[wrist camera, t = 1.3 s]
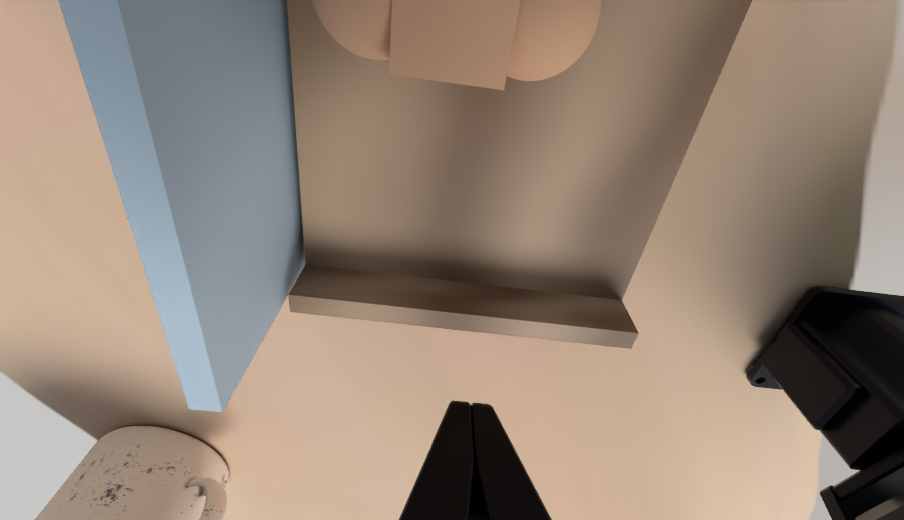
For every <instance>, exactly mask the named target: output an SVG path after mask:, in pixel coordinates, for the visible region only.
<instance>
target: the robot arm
mask: <svg viewBox="0 0 904 520" xmlns="http://www.w3.org/2000/svg"><path fill="white" fill-rule="evenodd" d="M747 379H748V381H749V382H750V383H751V385H752V386H755V387H763V388H773V389H782V390H783V391H784V392H785V393H786V394H787V396H788V397H789V398H790V399H791V401H792V402H793V403H794V404H795V406H796V407H797V408H798V410H799V411H800V412H801V413H802V415H803V416H804V417H805V418H806V420H807V421H808V422H809V423H810V425H811V426H812V427H813V428H814V429H816V430H820V431H821V433H822V434H823V435H824V436H825V438H826V439H827V440H828V441H829V443H830V444H831V445H832V446H833V447H834V449H835V450H836V451H837V452H838V454H839V455H840V456H841V457H842V459H843V460H844V461H845V462H846V464H847V465H848V466H849V467H850V468H851V469H855V470H860V471H859V472H857V473H855V474H854V475H852V476H850V477H849V478H847V479H845V480H844V481H842V482H840V483H839V484H837V485H835V486H829V487H827V488H825V489H824V490H822V491H820V495H821V497H822V499H823V501H824V503H825V505H826V508H827V510H828V512H829V514H830V516H831V518H832V520H904V296H898V295H888V294H880V293H872V292H864V291H856V290H847V289H839V288H830V287H822V286H821V287H815V288H812V289H811V290H809V291H808V292H807V293H806V294H805V295H804V297H803V298H802V299H801V301H800V302H799V303H798V305H797V306H796V308H795V309H794V310H793V312H792V313H791V315H790V316H789V317H788V319H787V320H786V321H785V323H784V324H783V326H782V327H781V328H780V330H779V331H778V332H777V334H776V335H775V337H774V338H773V339H772V341H771V342H770V344H769V345H768V346H767V348H766V349H765V350H764V352H763V353H762V355H761V356H760V357H759V359H758V360H757V361H756V363H755V364H754V366H753V367H752V368H751V370H750V371H749V373H748V374H747ZM399 520H552V519H551V517H550V516H549V514H548V512H547V510H546V508H545V506H544V504H543V502H542V500H541V498H540V496H539V495H538V493H537V491H536V489H535V487H534V485H533V483H532V481H531V479H530V477H529V475H528V474H527V472H526V470H525V468H524V466H523V464H522V462H521V460H520V458H519V456H518V454H517V453H516V451H515V449H514V447H513V445H512V443H511V441H510V439H509V437H508V435H507V433H506V432H505V430H504V428H503V426H502V424H501V422H500V420H499V418H498V416H497V414H496V412H495V411H494V409H493V407H492V406H491V405H489V404H482V403H473V404H471V405H470V403H468V402H461V401H451V402H450V404H449V406H448V408H447V411H446V413H445V415H444V418H443V420H442V422H441V424H440V427H439V429H438V431H437V434H436V436H435V438H434V440H433V443H432V445H431V447H430V450H429V452H428V454H427V456H426V459H425V461H424V463H423V466H422V468H421V470H420V472H419V475H418V477H417V479H416V482H415V484H414V486H413V488H412V491H411V493H410V495H409V498H408V500H407V502H406V504H405V507H404V509H403V511H402V514H401V516H400V518H399Z"/></svg>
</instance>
